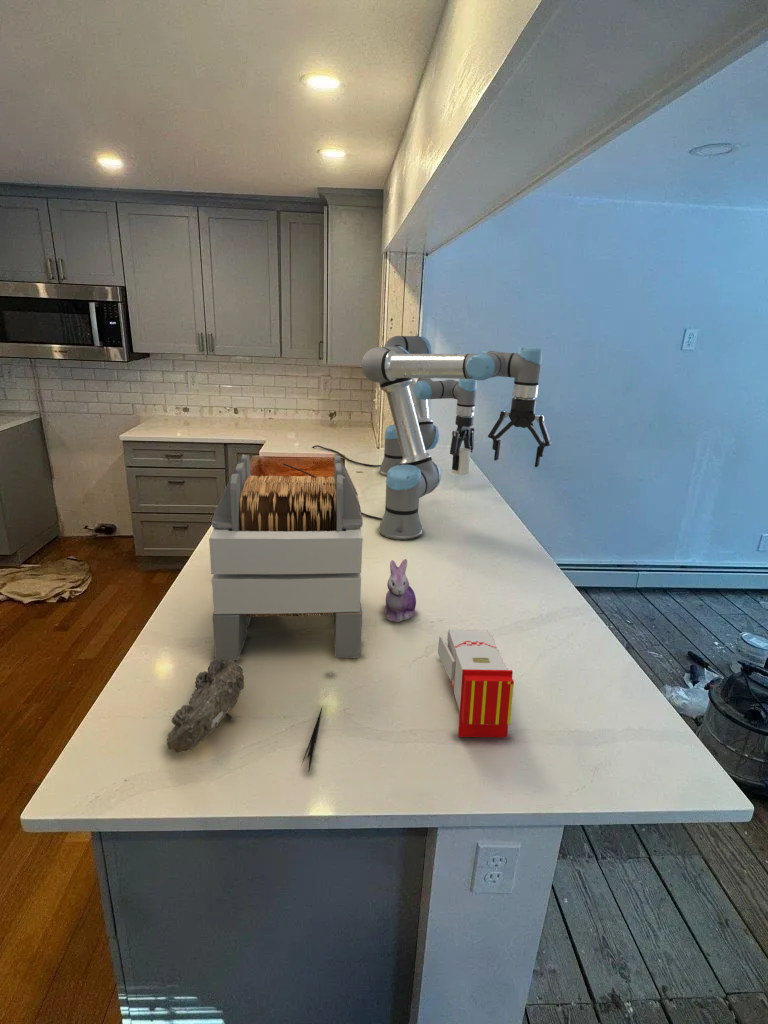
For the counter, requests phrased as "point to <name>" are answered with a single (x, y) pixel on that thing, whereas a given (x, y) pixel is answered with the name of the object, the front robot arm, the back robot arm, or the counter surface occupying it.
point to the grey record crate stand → (286, 555)
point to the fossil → (206, 705)
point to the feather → (313, 740)
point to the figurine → (399, 594)
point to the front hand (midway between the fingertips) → (516, 462)
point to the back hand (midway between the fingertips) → (460, 468)
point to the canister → (463, 462)
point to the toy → (478, 682)
